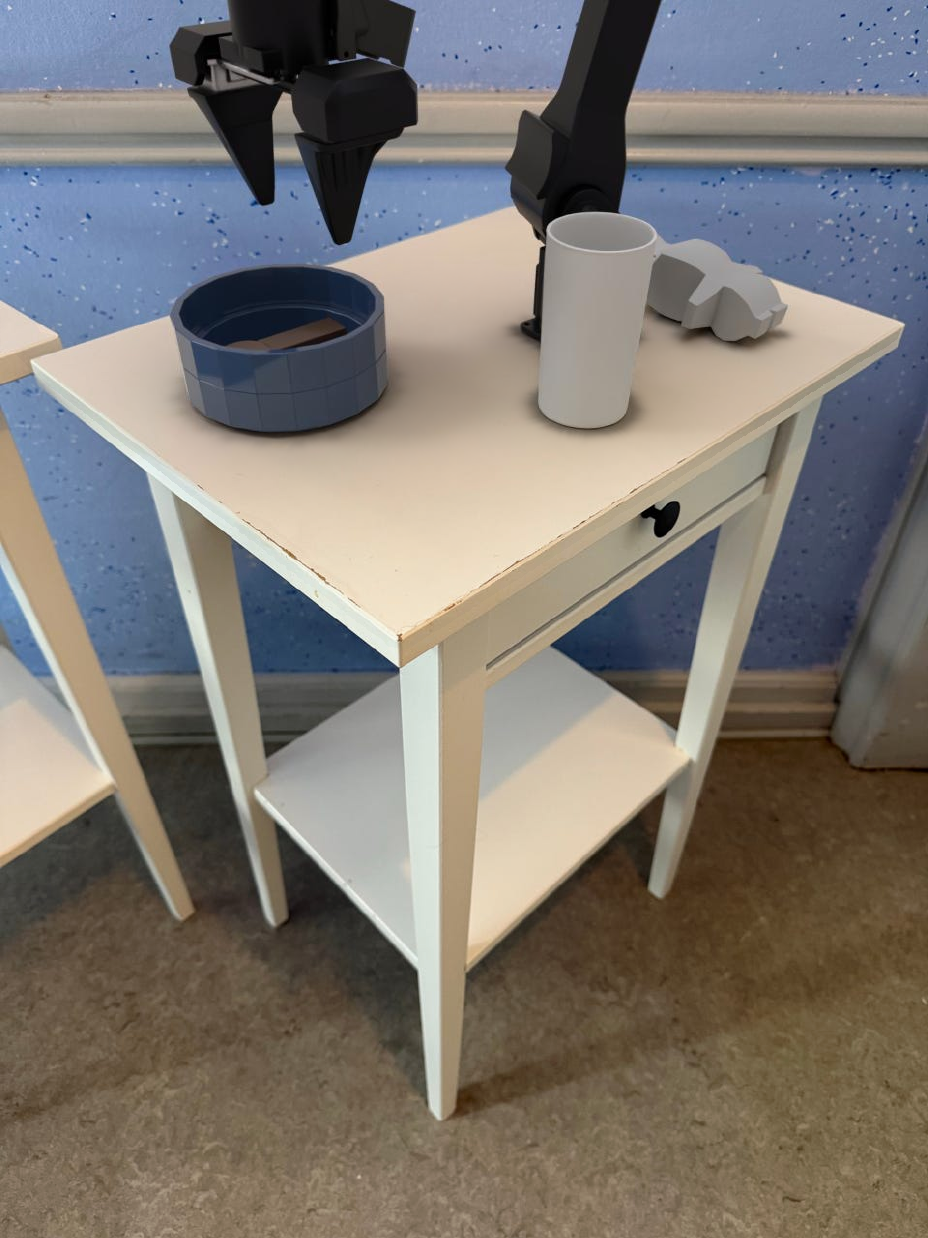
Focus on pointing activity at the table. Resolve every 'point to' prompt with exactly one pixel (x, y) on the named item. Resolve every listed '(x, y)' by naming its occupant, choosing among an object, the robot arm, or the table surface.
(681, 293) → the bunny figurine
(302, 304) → the bowl
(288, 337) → the brown round-ended block
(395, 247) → the table surface
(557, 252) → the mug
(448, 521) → the table surface
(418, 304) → the table surface
